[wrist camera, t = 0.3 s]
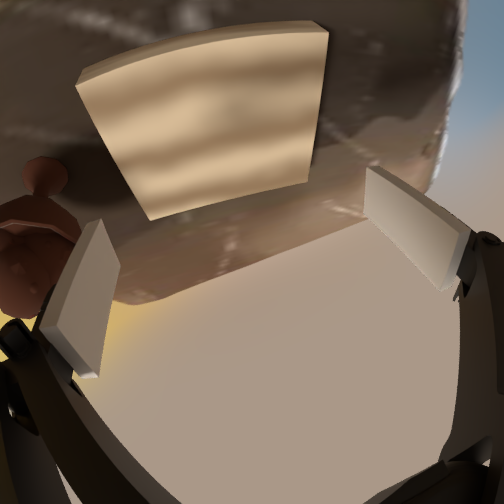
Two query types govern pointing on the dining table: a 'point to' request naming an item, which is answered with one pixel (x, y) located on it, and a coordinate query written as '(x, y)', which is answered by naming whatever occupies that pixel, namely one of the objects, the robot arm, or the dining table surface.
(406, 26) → the dining table surface
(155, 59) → the maple stand board
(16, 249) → the ice cream bowl
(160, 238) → the dining table surface
